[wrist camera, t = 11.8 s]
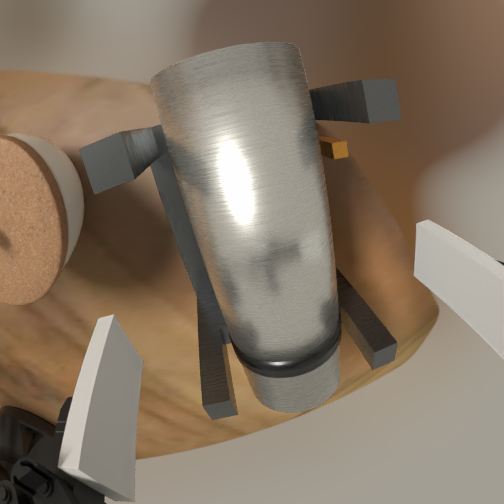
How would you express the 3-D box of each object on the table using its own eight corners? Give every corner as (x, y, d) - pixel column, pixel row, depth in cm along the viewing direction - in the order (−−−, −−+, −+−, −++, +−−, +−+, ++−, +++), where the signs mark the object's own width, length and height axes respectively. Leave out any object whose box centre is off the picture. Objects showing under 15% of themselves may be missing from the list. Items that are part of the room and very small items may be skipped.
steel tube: (154, 93, 12) (138, 68, 7) (273, 66, 13) (330, 36, 7) (240, 359, 20) (263, 427, 15) (319, 330, 21) (358, 389, 16)
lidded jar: (130, 195, 20) (88, 248, 12) (55, 276, 21) (9, 347, 13) (48, 98, 15) (-29, 98, 7) (-16, 194, 17) (-83, 235, 8)
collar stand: (202, 301, 25) (212, 420, 14) (144, 132, 18) (79, 149, 8) (333, 262, 25) (407, 353, 15) (307, 93, 19) (414, 79, 8)
